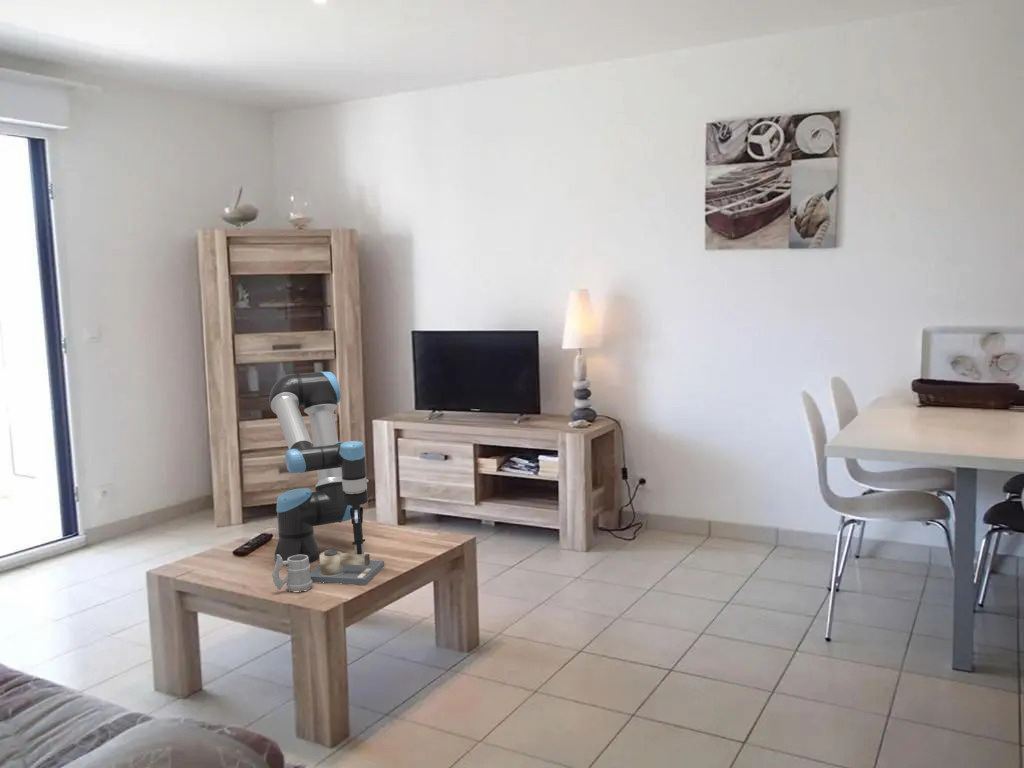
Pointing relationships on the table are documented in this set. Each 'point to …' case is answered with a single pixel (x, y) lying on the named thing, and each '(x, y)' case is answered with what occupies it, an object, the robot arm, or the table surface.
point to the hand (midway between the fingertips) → (360, 562)
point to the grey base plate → (349, 574)
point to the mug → (293, 573)
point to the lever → (340, 561)
